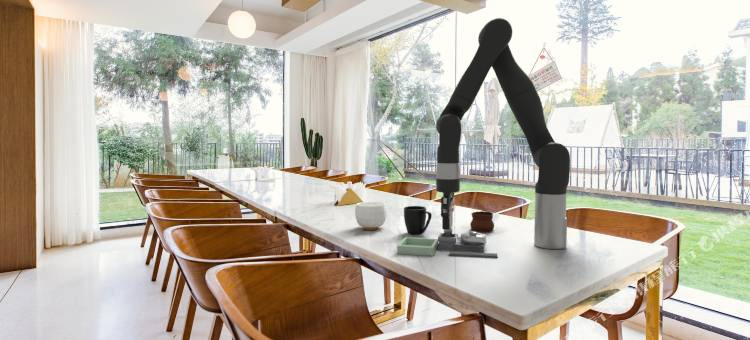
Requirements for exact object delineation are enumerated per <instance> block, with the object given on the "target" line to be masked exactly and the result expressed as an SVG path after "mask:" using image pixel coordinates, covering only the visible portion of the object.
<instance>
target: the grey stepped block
mask: <svg viewBox="0 0 750 340" xmlns="http://www.w3.org/2000/svg"><path fill="white" fill-rule="evenodd" d="M437 239H438V248H437V250H438V249H439V250H440V251H441V250H442V251H451V252H474V253H485V248H486V243H487V234H484V233H483V232H476V231H472V230H471V231H469V232H463V233H460V236H459V234H458V233H453V237H444V232H440V233H439V235H438V236H437Z"/></svg>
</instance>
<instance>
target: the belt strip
mask: <svg viewBox="0 0 750 340" xmlns="http://www.w3.org/2000/svg"><path fill="white" fill-rule="evenodd" d="M448 251H449V252H448V254H449V255H448V256H449V257H467V256H468V257H471V258H475V257H476V258H489V259H490V258H491V259H494V258H495V259H497V258H498V253H494V252H492V253H491V252H484V253H482V252H467V251H451V250H448Z"/></svg>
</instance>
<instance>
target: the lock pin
mask: <svg viewBox="0 0 750 340" xmlns="http://www.w3.org/2000/svg"><path fill="white" fill-rule="evenodd" d="M453 210H454V211H455V205H454V206H452V212H450V228H449V230H445V229H443V233H444V237H453V234H454V233H453V231H454V230H453V223H454V222H453V221H454V218H453V216H454V211H453ZM444 213H447V212H444Z"/></svg>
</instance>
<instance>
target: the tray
mask: <svg viewBox="0 0 750 340" xmlns="http://www.w3.org/2000/svg"><path fill="white" fill-rule="evenodd" d="M438 243H439V242H438V238H429V237H428V238H425V237H413V236H412V237H411V236H409V237H408V236H405V237H404V238H403V239H402V240H401V241H400V242H399V243H398V244H397V246H396V247H397V248H396V253H398V255H409V254H410V255H413V256H424V257H425V255H430V256H429V257H433V256H434V255H435V254H436V252H435V251H437V250H438ZM399 253H400V254H399ZM410 255H409V256H410Z"/></svg>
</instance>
